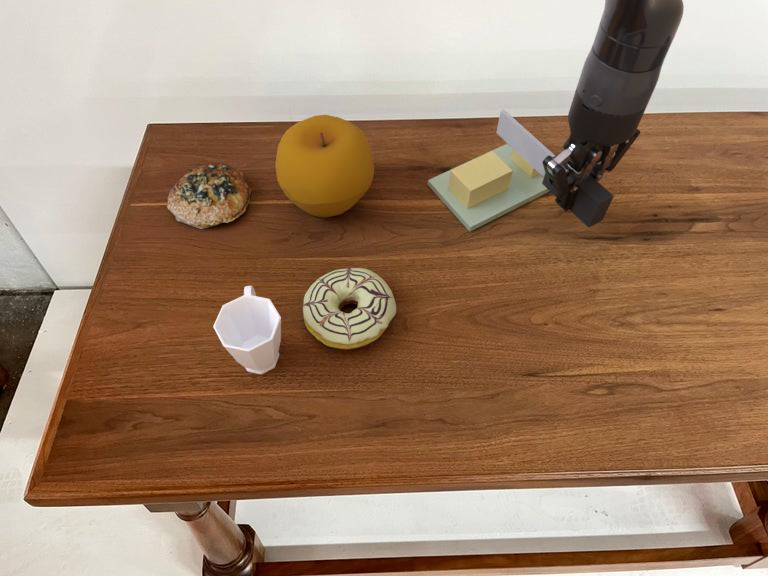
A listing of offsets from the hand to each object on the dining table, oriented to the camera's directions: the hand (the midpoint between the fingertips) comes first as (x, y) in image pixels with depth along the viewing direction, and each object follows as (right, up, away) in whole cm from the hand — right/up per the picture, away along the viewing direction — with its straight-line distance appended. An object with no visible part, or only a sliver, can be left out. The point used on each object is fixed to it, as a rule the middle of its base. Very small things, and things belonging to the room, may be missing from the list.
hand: (571, 201), depth 78 cm
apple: (-32, +1, +5) cm, 32 cm away
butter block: (-11, +2, +5) cm, 13 cm away
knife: (-3, +4, +3) cm, 5 cm away
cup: (-39, -18, -7) cm, 43 cm away
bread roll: (-48, +1, +5) cm, 48 cm away
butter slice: (-4, +6, +7) cm, 11 cm away
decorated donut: (-28, -15, -5) cm, 32 cm away
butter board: (-10, +3, +6) cm, 12 cm away
